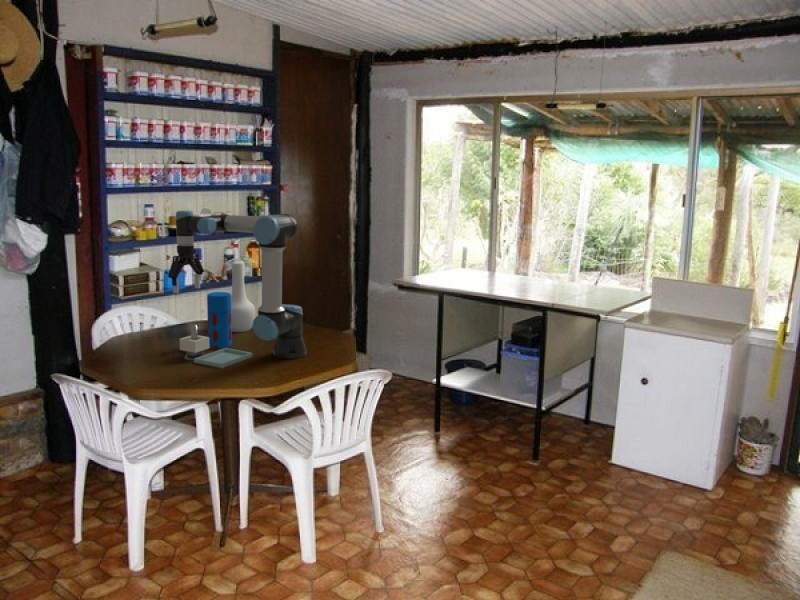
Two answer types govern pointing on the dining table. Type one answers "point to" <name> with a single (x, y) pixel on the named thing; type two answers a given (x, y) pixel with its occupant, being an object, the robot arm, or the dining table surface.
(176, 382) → the dining table surface
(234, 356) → the tray
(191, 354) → the stake
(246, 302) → the vase
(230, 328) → the thermos
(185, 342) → the ring
